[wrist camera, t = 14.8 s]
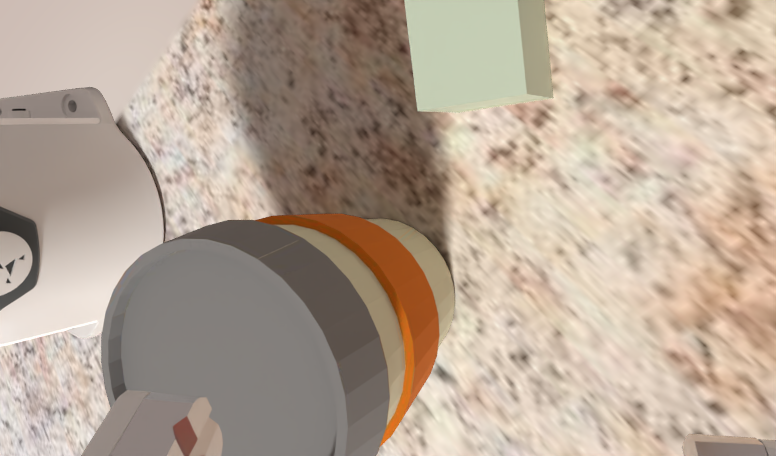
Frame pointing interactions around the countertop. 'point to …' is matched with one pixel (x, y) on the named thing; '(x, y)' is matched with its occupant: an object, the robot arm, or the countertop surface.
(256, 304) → the reusable coffee cup
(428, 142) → the countertop surface
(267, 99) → the countertop surface
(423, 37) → the cube
